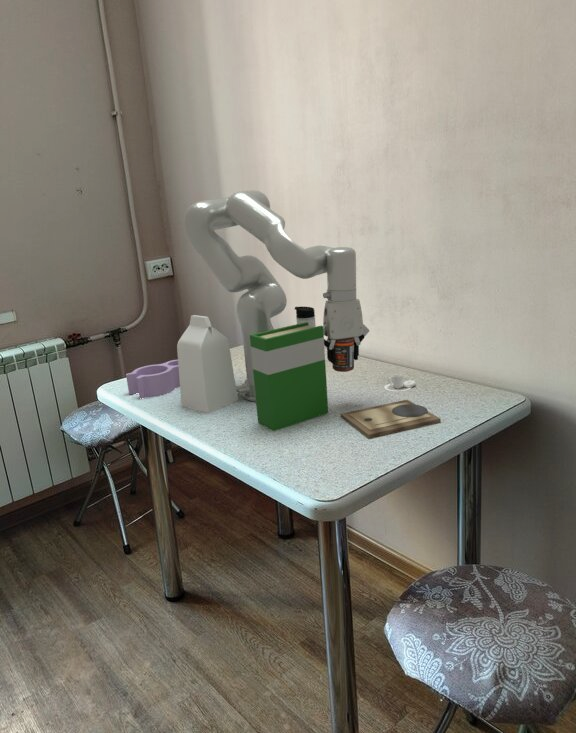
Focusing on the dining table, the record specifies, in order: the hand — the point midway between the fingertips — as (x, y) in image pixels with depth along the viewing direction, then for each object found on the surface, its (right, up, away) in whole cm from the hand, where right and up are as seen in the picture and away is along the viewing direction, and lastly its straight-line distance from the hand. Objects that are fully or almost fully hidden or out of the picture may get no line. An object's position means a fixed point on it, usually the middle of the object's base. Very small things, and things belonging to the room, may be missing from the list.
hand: (343, 359), depth 167 cm
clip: (-55, -9, +30) cm, 64 cm away
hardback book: (-14, -16, -4) cm, 21 cm away
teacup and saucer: (+19, -9, +11) cm, 24 cm away
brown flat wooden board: (+11, -15, -10) cm, 21 cm away
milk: (-38, -13, +13) cm, 42 cm away
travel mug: (-8, -1, +43) cm, 44 cm away
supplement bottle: (0, -3, +1) cm, 3 cm away
